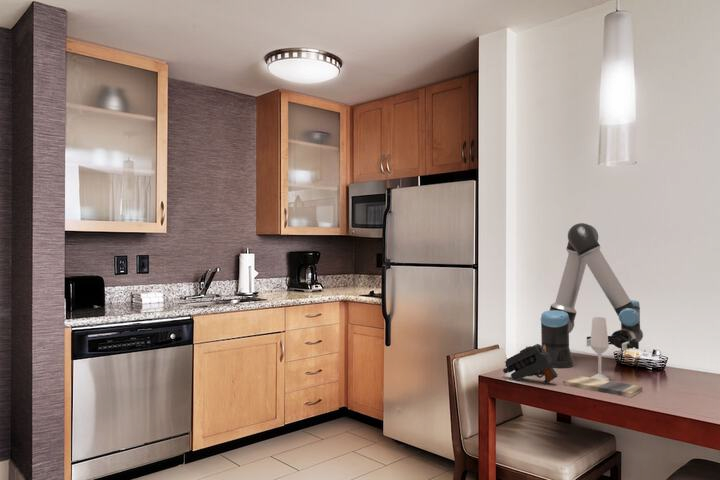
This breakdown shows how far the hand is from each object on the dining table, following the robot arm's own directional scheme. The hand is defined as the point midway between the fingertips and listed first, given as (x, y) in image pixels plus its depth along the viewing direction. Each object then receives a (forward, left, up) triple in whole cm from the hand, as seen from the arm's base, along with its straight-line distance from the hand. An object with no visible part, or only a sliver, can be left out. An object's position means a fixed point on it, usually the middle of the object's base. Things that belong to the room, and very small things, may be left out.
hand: (604, 345), depth 207 cm
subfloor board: (+5, -16, -13) cm, 22 cm away
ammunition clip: (-22, -14, -13) cm, 30 cm away
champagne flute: (-1, -2, -13) cm, 13 cm away
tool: (-19, -26, -13) cm, 35 cm away
